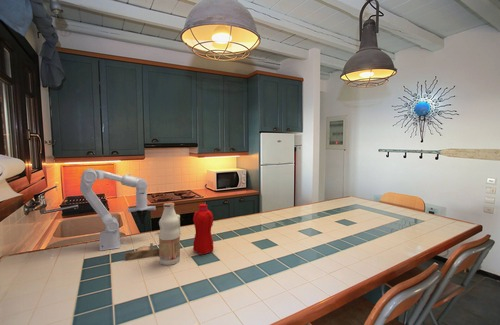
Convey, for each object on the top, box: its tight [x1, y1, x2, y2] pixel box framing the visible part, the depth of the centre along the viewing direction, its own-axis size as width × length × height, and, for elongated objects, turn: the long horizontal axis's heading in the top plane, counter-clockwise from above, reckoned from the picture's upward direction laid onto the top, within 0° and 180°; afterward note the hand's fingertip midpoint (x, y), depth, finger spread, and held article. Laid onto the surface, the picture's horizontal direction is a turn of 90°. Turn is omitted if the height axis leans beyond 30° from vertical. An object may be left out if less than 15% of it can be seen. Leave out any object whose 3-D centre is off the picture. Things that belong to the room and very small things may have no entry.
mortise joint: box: [124, 243, 159, 261], centre depth 129 cm, size 16×9×4 cm, turn 111°
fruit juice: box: [158, 202, 181, 266], centre depth 121 cm, size 9×9×28 cm
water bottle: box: [192, 203, 214, 255], centre depth 133 cm, size 9×11×25 cm
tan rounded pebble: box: [136, 245, 150, 251], centre depth 129 cm, size 6×6×3 cm
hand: (142, 223), depth 146 cm, fingers closed
